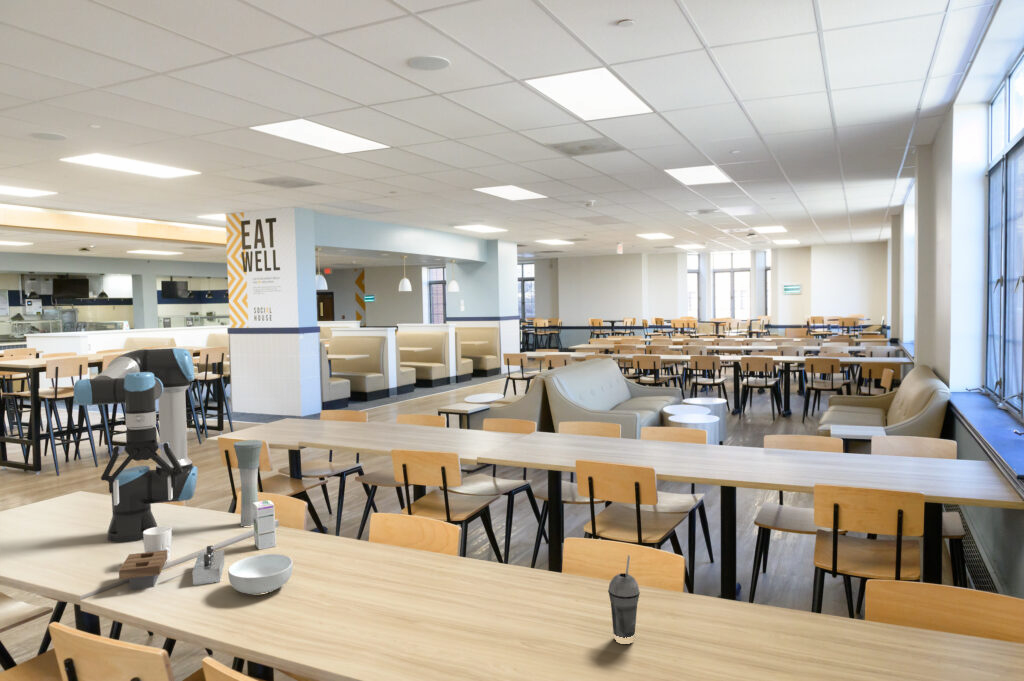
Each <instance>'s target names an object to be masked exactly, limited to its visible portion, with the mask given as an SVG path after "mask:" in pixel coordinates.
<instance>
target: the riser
mask: <svg viewBox="0 0 1024 681" xmlns="http://www.w3.org/2000/svg"><path fill="white" fill-rule="evenodd" d="M159 576H160V575H152V576H144V577H136V578H129V579H128V581H129V582H128V583H129V586H128V587H129V590H130V591H131V590H132V591H133V590H140V589H146V588H154V586H155V585H156V583H157V580H158V578H159Z"/></svg>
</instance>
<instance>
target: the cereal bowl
mask: <svg viewBox="0 0 1024 681" xmlns="http://www.w3.org/2000/svg"><path fill="white" fill-rule="evenodd" d="M293 567H294V563H293V559H292V558H291V557H290V556H288V555H285V554H280V553H262V554H257V555H251V556H247V557H243V558H242V559H239V560H237V561H235V562H234V563H232V564H231V565H230V566H229V567H228V572H227V574H228V581H229V583H230V585H231V587H232V588H233V589H235V591H238V592H240V593H243V594H248V595H251V594H261V593H266V592H270V591H272V590H274V591H275V590H277V589H279V588H281V587H282V586H284V585H285V584H287V583H288V581H289V580H290V578H291V577H292V574H293V570H294V568H293ZM272 592H273V591H272ZM270 593H271V592H270Z"/></svg>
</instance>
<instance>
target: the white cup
mask: <svg viewBox="0 0 1024 681" xmlns="http://www.w3.org/2000/svg"><path fill="white" fill-rule="evenodd" d="M172 528H173V527H171V526H167V525H160V526H157V527H153V528H150V529H147V530H145V531H144V532H143V539H142V540H143V548H144V553H146V552H154V551H163V550H167V560H166V562H167V561H169V560H170V559H171V560H172V556H171V555H172V541H173V540H172V537H173V536H172V535H173V534H172V533H173V532H172V530H173V529H172ZM171 560H170V561H171ZM170 561H169V562H170ZM167 563H168V562H167Z"/></svg>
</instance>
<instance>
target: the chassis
mask: <svg viewBox="0 0 1024 681" xmlns="http://www.w3.org/2000/svg"><path fill="white" fill-rule="evenodd" d="M224 567H225V550H218V551H217V550H216V551H214V546H213V545H207V546H206V552H200V553H198V555H197V557H196V561H195V564H194V566H193V569H192V586H199V585H207V584H214V582H216V583H220V582H221V580H220V579H222V576H223V575H222V574H223V570H224Z"/></svg>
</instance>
